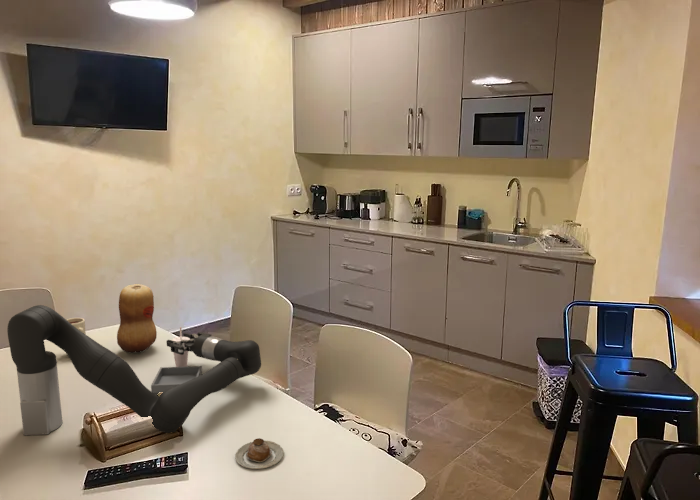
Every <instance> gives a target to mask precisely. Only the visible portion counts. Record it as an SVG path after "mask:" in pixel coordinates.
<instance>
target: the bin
mask: <svg viewBox="0 0 700 500" xmlns="http://www.w3.org/2000/svg"><path fill="white" fill-rule="evenodd" d="M202 367H203V366H202V365H197V366H196V365H193V366H191V365H190V366H188V365H187V367H176V366H168V367H167V366H163V367H162V366H161V367H160V368H159V369H158V372H157V374H156V376H155V377H154V379H153V381H152V383H151V384H150V388H151V390H150V391H151V392H153V393H154V394H156V395H157V394H158V393H159V392H165V391H166V390H168V389H170V388H173V387H175V386H177V385H180V384H182V383H185V382H187V381H189V380H192V379H194V378H196V377H198V376H200V375H202V374H203V368H202Z"/></svg>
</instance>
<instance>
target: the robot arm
mask: <svg viewBox="0 0 700 500" xmlns="http://www.w3.org/2000/svg"><path fill="white" fill-rule="evenodd" d="M182 337H188V338H190V339H189V340H181V341H172V339H167V340H166V346H167V347H168V348H170V352H171V353H173V352H174V353H177V354H180V355H183V354H184V352H185V351H188V352H192V353H194V355H195V356H196V357H198V358H201V359H205V360H210V361H215V362H219V363H218V364H215V365H214V366H213V367H211V368H210V369H208V370H206V371H205V372H202V375H200V376H198V377H196V378H194V379H192V380H189V381H187V382H185V383H182V384H180V385H177V386H175V387H173V388H170V389H168V390H166V391H165V392H163V393H162V394H161V395H160V396H157V395H156V394H154V393H153V392H151V390H150V389H148V388H147V387H146V386H145V385H144V384H143V383H142V381H141V380H140V378H139V376H138V375H137V374H136V372H135V371H134V370H133V367H131V365H130V364H129V363H128V362H127V361H126V360H125V359H123V357H121V356H119V355H118V354H116V353H115V352H113V351H111V350H110V349H109V348H107V347H105V346H103V344H100V343H99V342H97V341H96V340H95V339H93V338H91V336H89V335H87V334H86V335H85V334H84V333H82V332H81V331H80V330H78V329H77V328H76V327H74V326H73V325H72V324H71V323H69V322H68V321H67V319H66V318H65V317H63V316H62V314H60V313H58V312H57V311H56V310H55V309H53V308H51V307H49V306H48V305H47V306H46V305H42V304H37V305H33V306H32V307H31V306H30V307H28V308H27V309H24V310H22V311H20V312H18V313H16V314H14V315H12V317H10V319H9V321H8V323H7V339H8V344H9V350H10V355H11V359H12V361H13V363H14V365H15V366H16V372H17V383H18V393H19V400H20V402H19V404H20V413H21V421H22V422H21V423H22V430H23V436H35V435H49V434H50V433H51V432H53V431H56V430H57V429H58V428H59V427H61V426H62V424H63V414H62V404H61V403H62V402H61V393H60V384H59V383H60V381H59V372H58V371H59V370H58V361H57V354H56V353H55V352H52V351H51V350H50V351H49V350H46V347H45V346H46V345H45V340H46V341H48V342H50V343H52V344H54V345H55V346H56V347H58V348H60V349H61V350H62V351H64V352H65V354H66V356H67V357H69V359H70V361H71V363H72V366H73V367H74V369H75V371H76V372H77V373H78V375H80V376H81V378H83V379H84V380H85V381H87V382H89V383H90V384H92V385H93V386H95V387H97V388H98V389H99V390H102V391H103V392H105V393H106V394H108V395H110V396H111V397H112V398H114V399H115V400H116V401H118V402H120V403H121V404H123V405H125V406H126V407H127V408H129V409H130V410H132V411H133V412H134V413H136V414H137V415H138V416H139V417H140V418H141V417H148V416H151V417H152V419H153V422H152V424H153V425H154V427H155V428H156V430H157V431H159V432H163V433H166V434H172V433H176V432H177V431H178V430H179V429H180V428H181V427H182V426H183V424H184V423H185V422H186V420H187V418H188V417H189V415H190V414H191V411H193V409H194V408H195V407H196V406H197V405H198V404H199V403H200V402H201V401H202V400H204V398H206V397H207V396H209V395H211V394H214V393H217V392H220V391H222V390H224V389H226V388H227V387H229V386H230V385H231V384H233V383H234V382H236V381H237V380H239V379H241V378H244V377H248V376H250V375H252V376H253V375H254V374H256V373H258V372H259V371H260V369H261V367H262V358H261V350H260V349H261V348H260V345H259V343H257V342H256V341H254V340H252V339H248V340H241V341H231V340H226V339H223V338H220V337H216V336H213V335H212V334H209V333H205V332H200V331H199V332H197V333H188V332H184V333H182ZM183 343H185V347H184V345H183ZM177 344H180V345H177ZM174 353H173V354H174ZM180 426H181V427H180ZM154 427H153V428H154ZM179 427H180V428H179ZM155 428H154V429H155ZM178 428H179V429H178ZM177 429H178V430H177ZM176 430H177V431H176ZM171 432H172V433H171Z"/></svg>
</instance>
